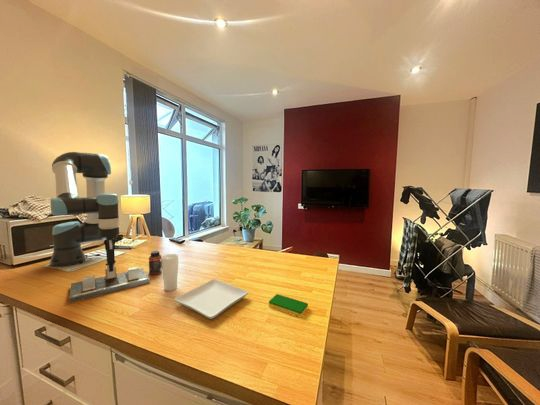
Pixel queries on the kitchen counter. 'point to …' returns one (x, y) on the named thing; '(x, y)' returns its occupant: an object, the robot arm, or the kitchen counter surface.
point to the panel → (107, 284)
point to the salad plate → (211, 298)
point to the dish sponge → (288, 305)
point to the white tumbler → (170, 271)
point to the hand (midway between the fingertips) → (111, 277)
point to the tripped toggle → (106, 273)
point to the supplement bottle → (155, 263)
